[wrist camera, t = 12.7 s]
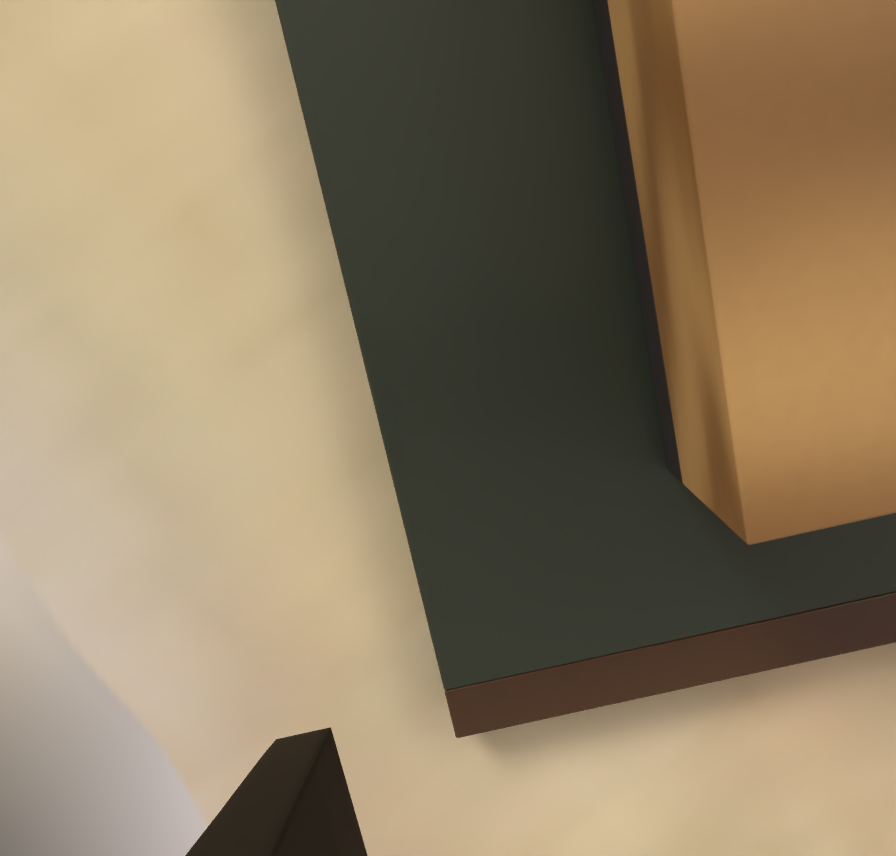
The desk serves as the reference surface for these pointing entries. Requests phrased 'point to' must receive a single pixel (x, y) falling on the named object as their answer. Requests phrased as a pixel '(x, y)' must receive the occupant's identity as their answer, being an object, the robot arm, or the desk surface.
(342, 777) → the robot arm
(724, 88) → the eraser
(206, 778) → the desk surface
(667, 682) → the slate board
